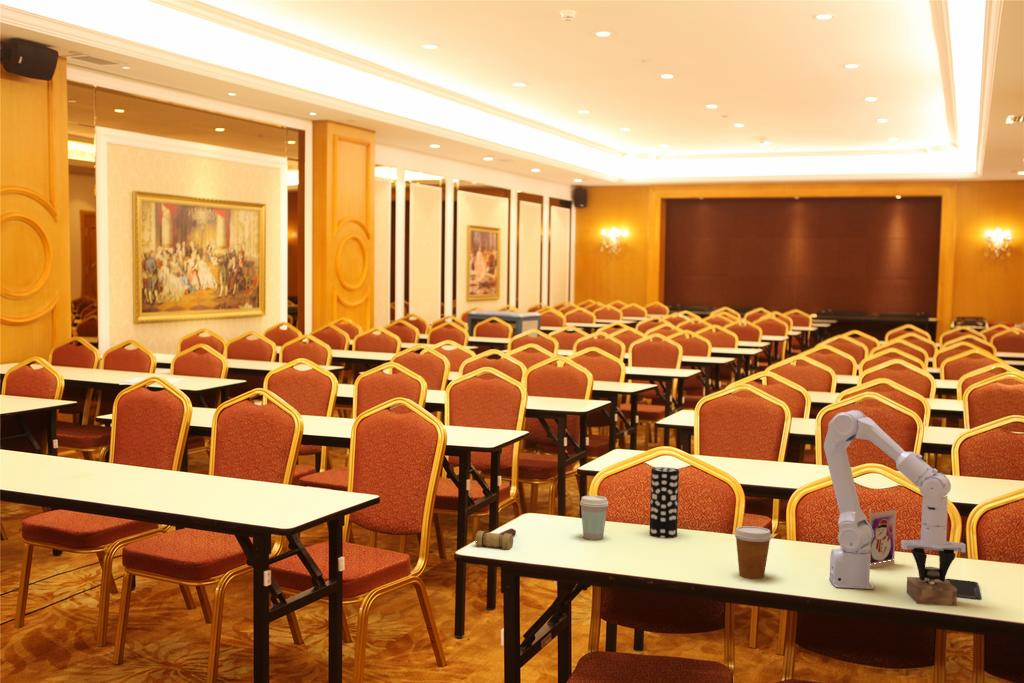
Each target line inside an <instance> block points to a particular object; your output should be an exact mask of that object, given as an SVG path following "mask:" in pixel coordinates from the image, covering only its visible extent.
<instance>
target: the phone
mask: <svg viewBox="0 0 1024 683" xmlns="http://www.w3.org/2000/svg"><path fill="white" fill-rule="evenodd" d="M945 579H946V580H947V581H948V582H949V583H951V584H952V585H953V586H954V587H955V588H957V599H958V598H960V599H968V600H976V601H979V600H981V597H982V596H981V591H980V584H979V582H977V581H972V580H965V579H964V580H963V579H955V578H945Z"/></svg>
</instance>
